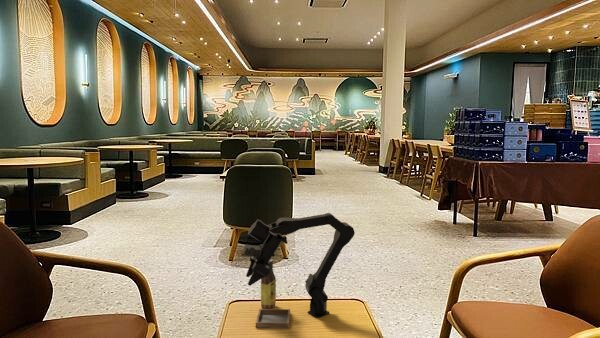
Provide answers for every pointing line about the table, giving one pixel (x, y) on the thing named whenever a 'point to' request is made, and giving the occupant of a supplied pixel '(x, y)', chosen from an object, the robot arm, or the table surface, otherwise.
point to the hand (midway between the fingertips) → (247, 280)
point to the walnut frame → (273, 318)
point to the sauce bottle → (268, 289)
